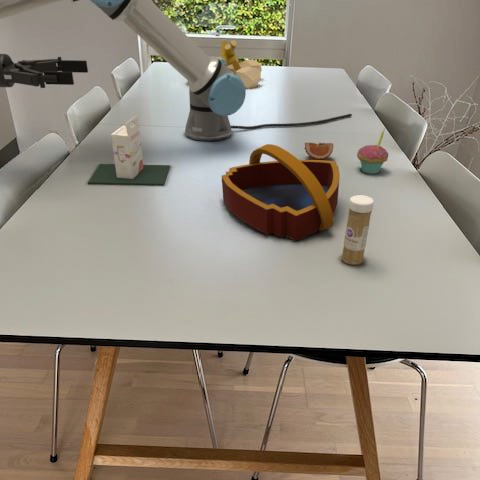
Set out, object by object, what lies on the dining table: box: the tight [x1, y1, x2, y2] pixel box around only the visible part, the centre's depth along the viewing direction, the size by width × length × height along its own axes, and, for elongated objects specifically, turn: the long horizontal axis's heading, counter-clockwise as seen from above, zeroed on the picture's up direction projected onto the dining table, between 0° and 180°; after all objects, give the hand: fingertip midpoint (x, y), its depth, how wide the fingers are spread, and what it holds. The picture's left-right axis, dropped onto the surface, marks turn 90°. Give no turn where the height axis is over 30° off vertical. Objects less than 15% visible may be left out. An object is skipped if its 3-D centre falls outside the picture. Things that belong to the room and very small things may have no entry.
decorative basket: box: [221, 143, 340, 242], centre depth 127 cm, size 34×29×15 cm
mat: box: [87, 163, 171, 186], centre depth 147 cm, size 20×14×1 cm
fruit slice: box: [304, 142, 334, 161], centre depth 159 cm, size 8×7×5 cm
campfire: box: [186, 39, 263, 90], centre depth 236 cm, size 35×34×17 cm
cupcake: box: [356, 128, 389, 174], centre depth 149 cm, size 9×8×12 cm
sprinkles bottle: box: [341, 194, 375, 266], centre depth 107 cm, size 5×5×13 cm
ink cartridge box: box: [110, 114, 144, 179], centre depth 143 cm, size 9×5×15 cm, turn 169°
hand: (80, 72), depth 132 cm, fingers open, 13 cm apart
